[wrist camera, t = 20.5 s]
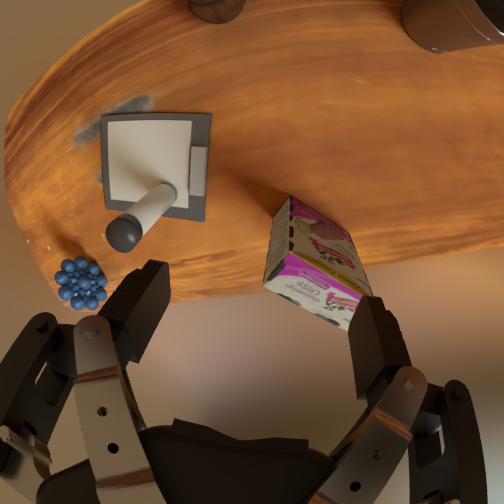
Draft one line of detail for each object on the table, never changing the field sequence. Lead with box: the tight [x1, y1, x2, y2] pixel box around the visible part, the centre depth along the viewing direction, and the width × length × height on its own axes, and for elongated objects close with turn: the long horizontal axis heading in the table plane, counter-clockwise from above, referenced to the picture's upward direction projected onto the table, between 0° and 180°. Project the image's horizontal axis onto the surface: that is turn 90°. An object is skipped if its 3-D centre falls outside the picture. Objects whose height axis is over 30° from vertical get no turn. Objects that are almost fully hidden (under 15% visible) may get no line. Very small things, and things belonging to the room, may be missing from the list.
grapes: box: [55, 256, 107, 310], centre depth 44 cm, size 12×7×12 cm, turn 27°
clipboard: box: [101, 113, 212, 222], centre depth 37 cm, size 16×18×2 cm
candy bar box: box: [263, 195, 373, 331], centre depth 32 cm, size 11×5×16 cm, turn 60°
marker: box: [106, 182, 178, 253], centre depth 32 cm, size 4×4×14 cm
